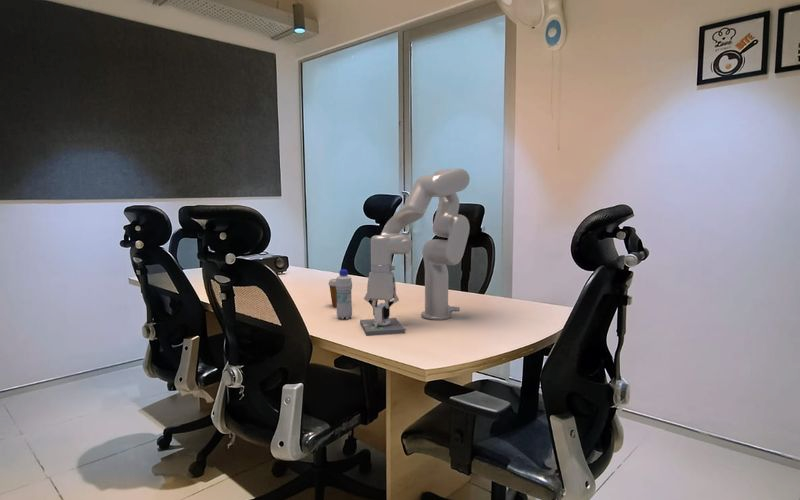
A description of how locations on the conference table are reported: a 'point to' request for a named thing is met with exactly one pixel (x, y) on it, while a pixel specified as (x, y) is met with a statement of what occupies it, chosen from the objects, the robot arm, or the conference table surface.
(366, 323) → the dial board
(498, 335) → the conference table surface
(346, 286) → the bottle
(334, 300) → the disposable coffee cup
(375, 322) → the knob
